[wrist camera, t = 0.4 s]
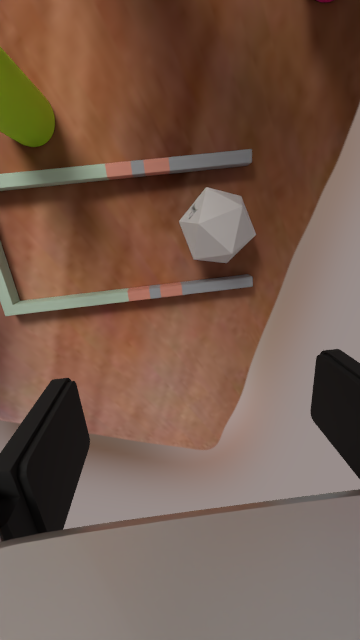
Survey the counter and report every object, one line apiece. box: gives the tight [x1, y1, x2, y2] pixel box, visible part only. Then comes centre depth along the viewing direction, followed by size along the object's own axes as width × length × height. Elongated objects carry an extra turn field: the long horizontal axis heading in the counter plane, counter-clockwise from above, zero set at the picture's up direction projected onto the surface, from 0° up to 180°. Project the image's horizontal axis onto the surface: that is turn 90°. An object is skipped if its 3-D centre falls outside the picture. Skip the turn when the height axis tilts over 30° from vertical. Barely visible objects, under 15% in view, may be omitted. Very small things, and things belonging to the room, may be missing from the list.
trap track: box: [0, 149, 253, 316], centre depth 35 cm, size 17×34×2 cm, turn 96°
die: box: [179, 187, 256, 263], centre depth 32 cm, size 8×9×10 cm
